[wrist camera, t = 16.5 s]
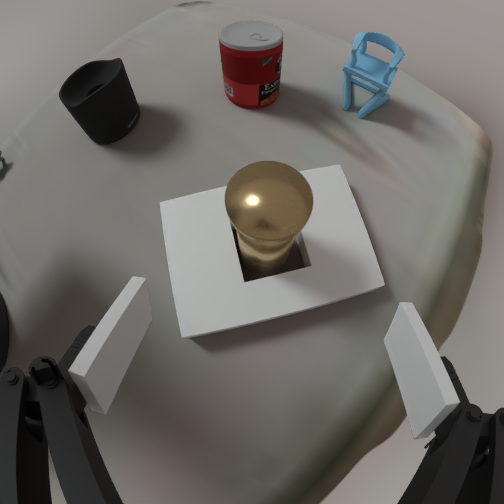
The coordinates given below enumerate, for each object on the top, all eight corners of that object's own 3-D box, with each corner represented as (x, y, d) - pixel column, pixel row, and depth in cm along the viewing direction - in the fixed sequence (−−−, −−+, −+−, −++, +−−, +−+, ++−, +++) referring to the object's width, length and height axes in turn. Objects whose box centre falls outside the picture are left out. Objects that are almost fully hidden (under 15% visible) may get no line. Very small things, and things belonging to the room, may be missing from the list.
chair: (327, 103, 38) (343, 38, 26) (346, 77, 40) (362, 20, 28) (375, 127, 36) (403, 66, 25) (388, 98, 38) (413, 44, 27)
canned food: (269, 115, 37) (272, 51, 26) (216, 103, 38) (207, 42, 27) (285, 84, 39) (291, 25, 28) (236, 73, 40) (232, 17, 29)
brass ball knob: (243, 286, 30) (236, 248, 18) (230, 233, 32) (216, 171, 20) (299, 271, 30) (325, 226, 19) (283, 220, 32) (297, 154, 21)
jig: (189, 338, 28) (181, 337, 25) (167, 214, 32) (159, 202, 30) (373, 290, 29) (384, 285, 27) (333, 178, 34) (339, 164, 31)
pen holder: (96, 158, 35) (64, 114, 26) (82, 124, 38) (55, 83, 28) (152, 122, 37) (131, 71, 27) (131, 93, 39) (112, 48, 30)
